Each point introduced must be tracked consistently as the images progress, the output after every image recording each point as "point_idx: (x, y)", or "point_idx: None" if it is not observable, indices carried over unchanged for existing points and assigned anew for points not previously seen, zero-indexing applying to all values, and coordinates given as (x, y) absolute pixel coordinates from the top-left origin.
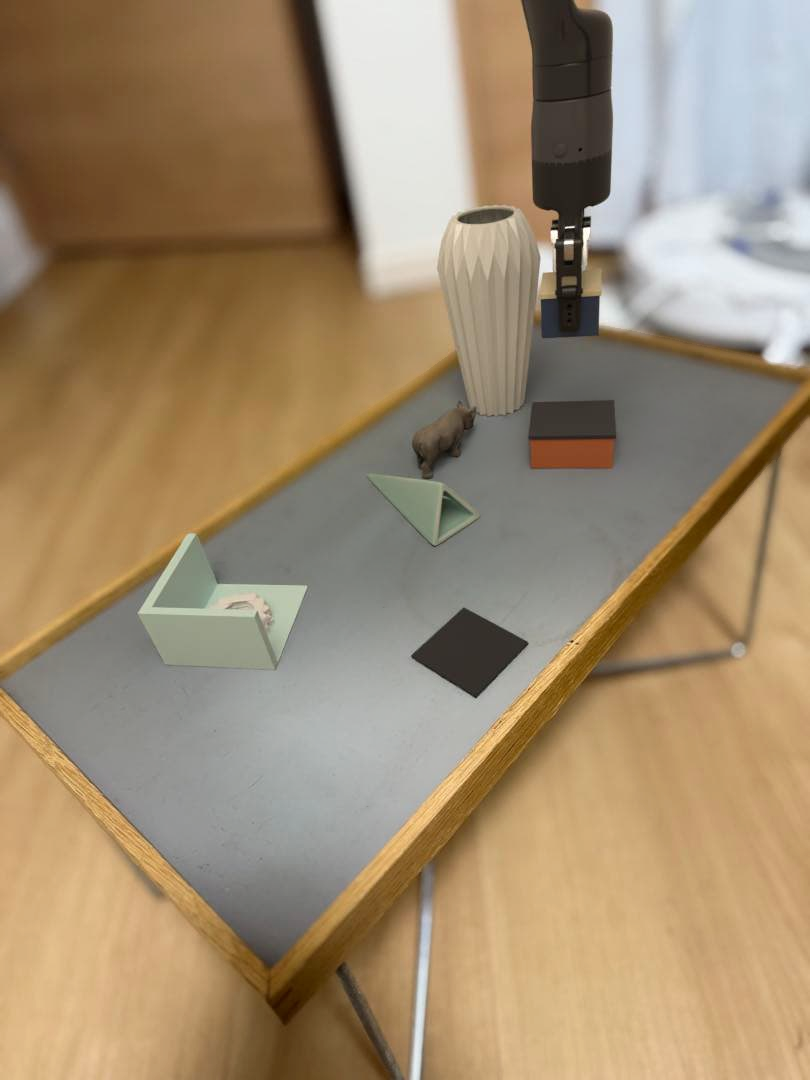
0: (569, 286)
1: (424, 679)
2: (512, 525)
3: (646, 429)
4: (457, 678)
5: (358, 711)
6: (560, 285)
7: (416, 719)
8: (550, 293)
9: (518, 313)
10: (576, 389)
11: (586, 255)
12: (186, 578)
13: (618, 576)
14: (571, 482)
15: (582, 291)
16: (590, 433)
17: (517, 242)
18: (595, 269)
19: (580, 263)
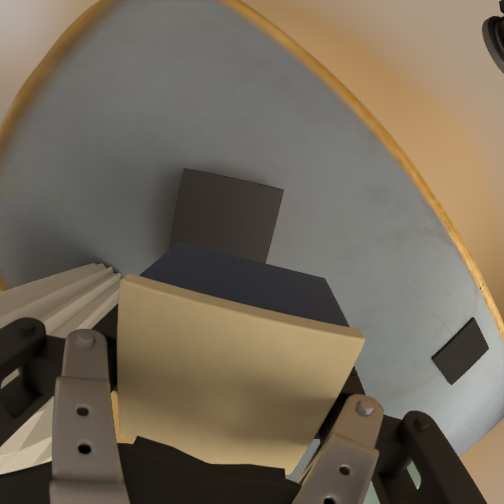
0: (409, 460)
1: (465, 374)
2: (352, 317)
3: (198, 125)
4: (476, 358)
5: (465, 401)
6: (413, 483)
7: (482, 374)
8: (300, 458)
9: (52, 333)
10: (86, 194)
11: (366, 491)
12: (364, 500)
13: (443, 237)
14: (295, 244)
15: (429, 421)
16: (271, 224)
17: None
18: (125, 304)
19: (477, 495)
